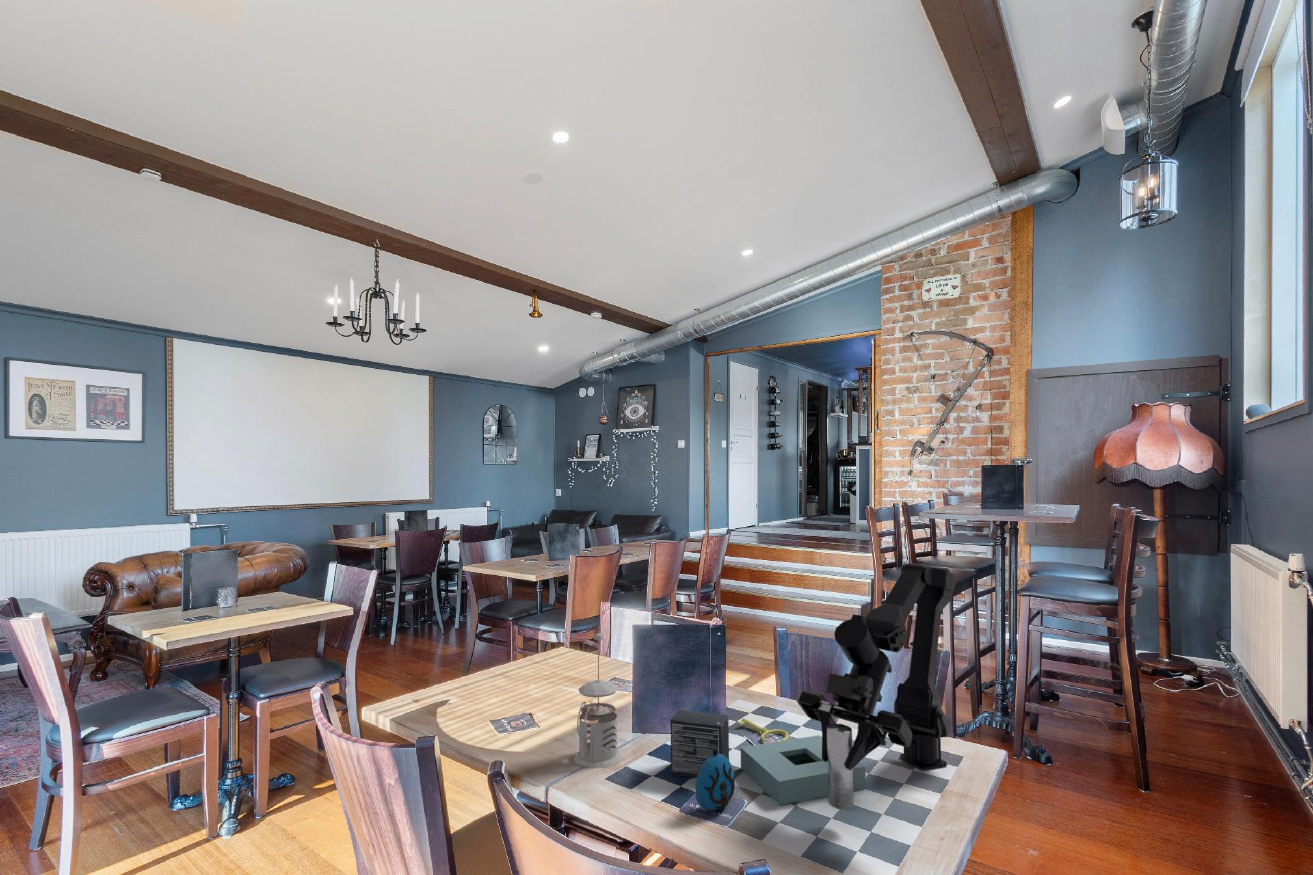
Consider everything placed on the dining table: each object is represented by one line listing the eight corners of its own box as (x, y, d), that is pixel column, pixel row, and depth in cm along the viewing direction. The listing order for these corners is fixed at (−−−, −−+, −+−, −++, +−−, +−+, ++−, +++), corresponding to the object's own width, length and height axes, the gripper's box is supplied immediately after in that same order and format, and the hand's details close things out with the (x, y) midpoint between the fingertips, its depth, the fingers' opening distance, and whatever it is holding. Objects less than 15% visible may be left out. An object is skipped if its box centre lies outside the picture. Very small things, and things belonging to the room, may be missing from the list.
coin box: (819, 754, 132) (819, 735, 132) (865, 788, 118) (865, 766, 118) (740, 768, 126) (740, 747, 126) (779, 804, 112) (779, 781, 112)
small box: (730, 768, 126) (730, 713, 127) (723, 783, 120) (722, 725, 121) (679, 760, 130) (679, 707, 130) (669, 774, 124) (669, 718, 124)
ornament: (706, 822, 107) (706, 760, 107) (689, 810, 110) (688, 751, 111) (742, 807, 111) (742, 748, 112) (724, 796, 115) (724, 739, 116)
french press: (630, 751, 134) (630, 630, 135) (602, 775, 123) (603, 643, 125) (589, 743, 138) (590, 625, 139) (559, 765, 127) (560, 638, 129)
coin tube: (843, 795, 108) (842, 722, 109) (858, 806, 104) (856, 731, 105) (823, 799, 107) (821, 725, 107) (837, 811, 103) (836, 734, 103)
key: (742, 726, 149) (742, 716, 149) (792, 738, 142) (792, 728, 142) (728, 736, 143) (727, 726, 143) (780, 749, 136) (779, 739, 136)
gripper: (801, 643, 116) (767, 723, 107) (903, 665, 103) (873, 757, 94) (824, 677, 121) (793, 756, 113) (924, 702, 108) (897, 793, 100)
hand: (835, 764), depth 105 cm, fingers closed on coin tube, 4 cm apart
